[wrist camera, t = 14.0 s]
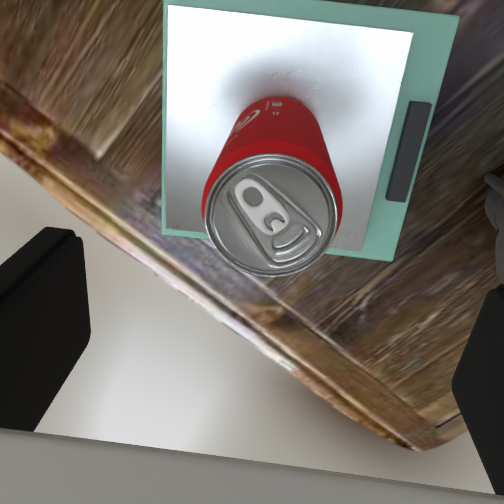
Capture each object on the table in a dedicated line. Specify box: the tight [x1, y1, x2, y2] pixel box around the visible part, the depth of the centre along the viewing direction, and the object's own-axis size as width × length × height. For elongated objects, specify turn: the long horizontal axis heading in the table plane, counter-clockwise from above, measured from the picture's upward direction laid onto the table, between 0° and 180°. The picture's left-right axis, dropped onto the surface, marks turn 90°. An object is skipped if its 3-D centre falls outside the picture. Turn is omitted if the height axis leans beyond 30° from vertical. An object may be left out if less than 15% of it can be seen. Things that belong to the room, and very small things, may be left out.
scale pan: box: [165, 4, 414, 252], centre depth 27 cm, size 13×13×1 cm
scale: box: [161, 0, 460, 261], centre depth 28 cm, size 16×15×4 cm
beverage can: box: [201, 97, 343, 277], centre depth 21 cm, size 5×5×12 cm
